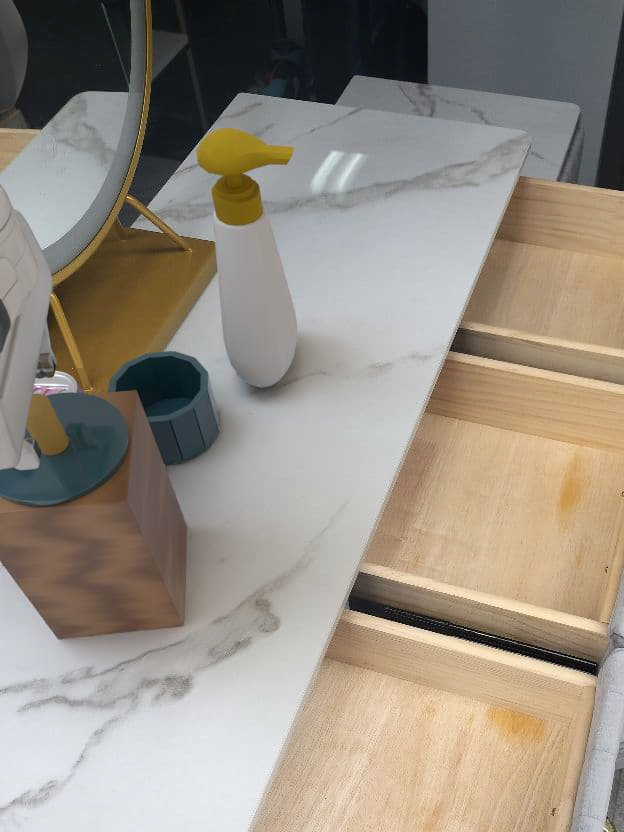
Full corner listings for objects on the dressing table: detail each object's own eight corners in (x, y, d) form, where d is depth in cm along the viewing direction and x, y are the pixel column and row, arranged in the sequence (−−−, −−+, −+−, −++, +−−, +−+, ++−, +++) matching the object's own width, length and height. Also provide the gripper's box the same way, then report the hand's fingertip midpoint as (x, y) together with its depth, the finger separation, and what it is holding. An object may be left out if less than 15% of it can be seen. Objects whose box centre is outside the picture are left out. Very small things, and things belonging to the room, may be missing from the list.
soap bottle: (311, 406, 96) (282, 174, 72) (224, 402, 96) (165, 170, 72) (323, 332, 103) (300, 99, 79) (241, 328, 103) (194, 95, 79)
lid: (-31, 513, 62) (-63, 471, 58) (-7, 403, 68) (-33, 357, 64) (124, 499, 63) (104, 456, 59) (134, 391, 69) (116, 345, 65)
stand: (57, 639, 78) (-35, 516, 62) (70, 537, 85) (-9, 401, 69) (183, 626, 79) (126, 501, 63) (187, 526, 86) (136, 389, 69)
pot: (122, 469, 90) (103, 425, 84) (129, 400, 96) (112, 355, 90) (219, 460, 91) (207, 417, 85) (219, 392, 97) (208, 347, 91)
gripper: (-62, 171, 57) (16, 327, 68) (-137, 379, 45) (-28, 525, 56) (31, 165, 57) (93, 321, 68) (-19, 369, 45) (65, 516, 57)
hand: (38, 415), depth 62 cm, fingers open, 8 cm apart
